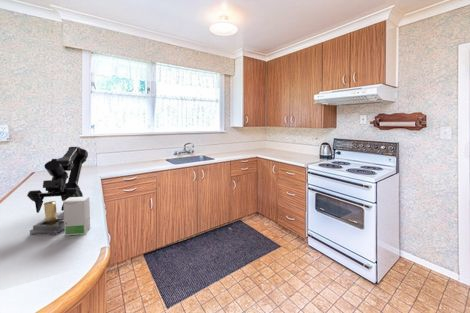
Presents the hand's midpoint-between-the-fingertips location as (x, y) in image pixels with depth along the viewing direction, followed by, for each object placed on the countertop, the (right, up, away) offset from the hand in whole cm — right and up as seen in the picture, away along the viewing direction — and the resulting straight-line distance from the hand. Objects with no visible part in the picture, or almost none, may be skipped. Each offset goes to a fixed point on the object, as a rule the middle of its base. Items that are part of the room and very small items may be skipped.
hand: (50, 211), depth 99 cm
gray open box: (0, -9, +2) cm, 9 cm away
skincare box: (+12, -10, +1) cm, 16 cm away
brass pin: (0, -9, +2) cm, 9 cm away
